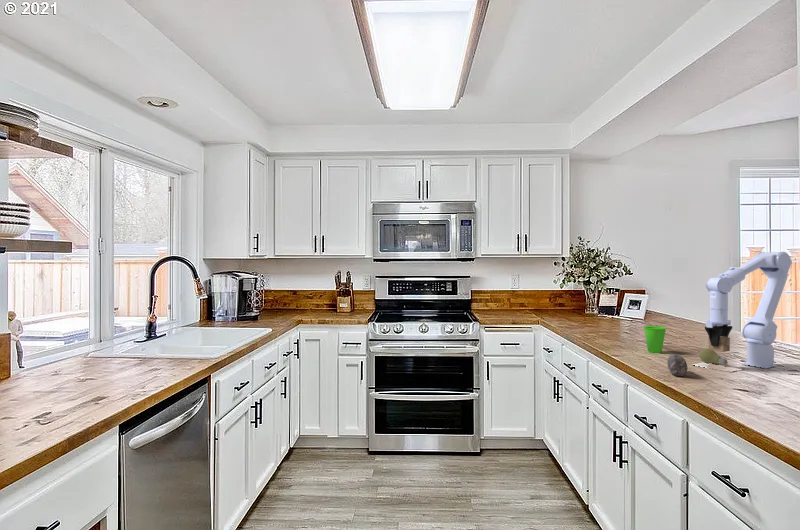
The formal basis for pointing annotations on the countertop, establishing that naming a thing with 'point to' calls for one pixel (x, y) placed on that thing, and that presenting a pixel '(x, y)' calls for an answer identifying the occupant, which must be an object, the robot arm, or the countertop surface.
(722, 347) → the walnut block
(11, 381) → the countertop surface
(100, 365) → the countertop surface
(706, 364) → the letter
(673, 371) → the perforated stone tool
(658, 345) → the cup
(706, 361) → the light bulb
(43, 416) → the countertop surface
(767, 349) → the robot arm
